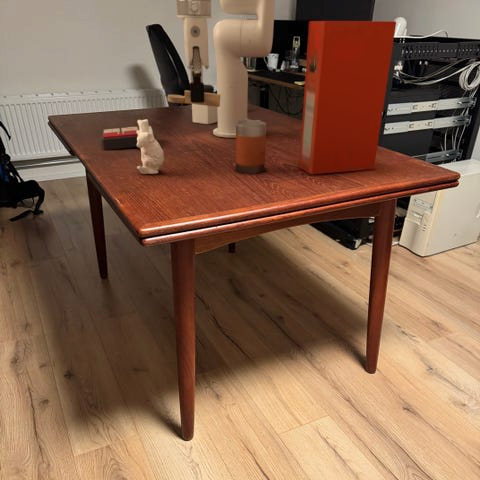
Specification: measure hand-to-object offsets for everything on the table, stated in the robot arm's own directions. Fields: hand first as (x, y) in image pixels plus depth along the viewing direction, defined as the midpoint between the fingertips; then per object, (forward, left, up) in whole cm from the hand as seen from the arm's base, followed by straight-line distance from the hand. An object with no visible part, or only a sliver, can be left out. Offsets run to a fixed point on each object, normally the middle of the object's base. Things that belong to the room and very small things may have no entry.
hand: (197, 101), depth 114 cm
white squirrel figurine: (+13, 0, -16) cm, 21 cm away
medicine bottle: (-24, -53, -16) cm, 60 cm away
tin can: (-10, +8, -15) cm, 20 cm away
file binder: (-31, +16, -16) cm, 38 cm away
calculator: (+10, -31, -16) cm, 36 cm away
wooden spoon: (+1, 0, -1) cm, 1 cm away
